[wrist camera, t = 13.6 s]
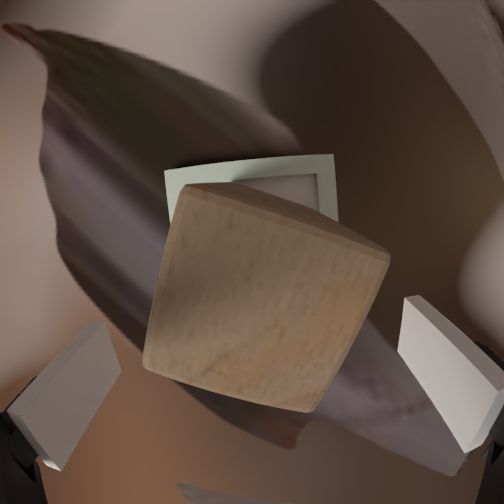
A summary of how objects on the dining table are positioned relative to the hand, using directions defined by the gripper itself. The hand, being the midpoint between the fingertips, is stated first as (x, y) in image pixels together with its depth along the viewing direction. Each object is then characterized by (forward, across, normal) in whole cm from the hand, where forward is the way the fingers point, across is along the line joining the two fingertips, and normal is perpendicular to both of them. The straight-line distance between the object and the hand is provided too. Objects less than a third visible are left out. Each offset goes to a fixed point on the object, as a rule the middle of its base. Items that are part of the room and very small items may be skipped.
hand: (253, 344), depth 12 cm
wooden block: (+22, 0, 0) cm, 22 cm away
